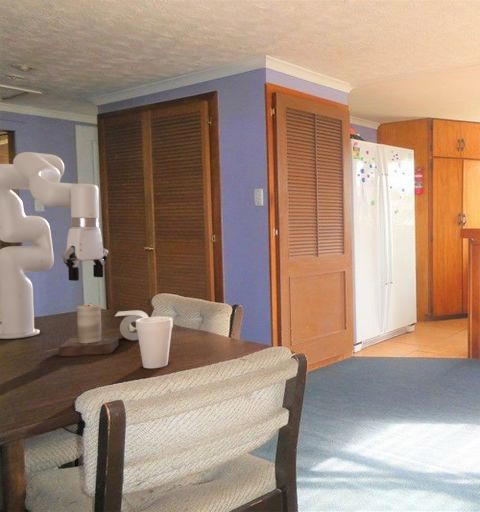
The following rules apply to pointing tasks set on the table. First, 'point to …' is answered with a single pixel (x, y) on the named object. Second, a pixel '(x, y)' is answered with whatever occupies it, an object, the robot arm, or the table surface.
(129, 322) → the toilet paper holder
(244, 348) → the table surface
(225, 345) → the table surface
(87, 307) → the rotary dial knob
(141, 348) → the foam cup
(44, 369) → the table surface
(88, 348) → the brown square plate
